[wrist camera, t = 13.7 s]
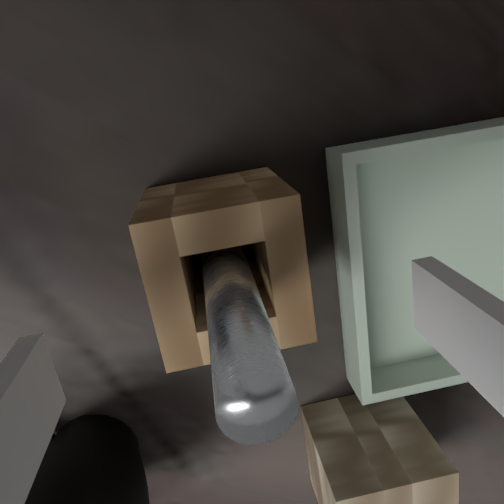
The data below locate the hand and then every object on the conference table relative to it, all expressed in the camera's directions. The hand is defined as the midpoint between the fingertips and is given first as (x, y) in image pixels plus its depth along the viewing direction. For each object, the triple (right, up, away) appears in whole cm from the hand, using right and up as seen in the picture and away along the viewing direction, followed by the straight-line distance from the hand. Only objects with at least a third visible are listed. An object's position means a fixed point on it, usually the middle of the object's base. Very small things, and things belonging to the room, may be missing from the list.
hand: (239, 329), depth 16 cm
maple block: (+8, -11, +17) cm, 22 cm away
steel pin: (-2, +4, +11) cm, 12 cm away
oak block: (-2, +4, +11) cm, 12 cm away
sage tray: (+14, +3, +13) cm, 19 cm away
